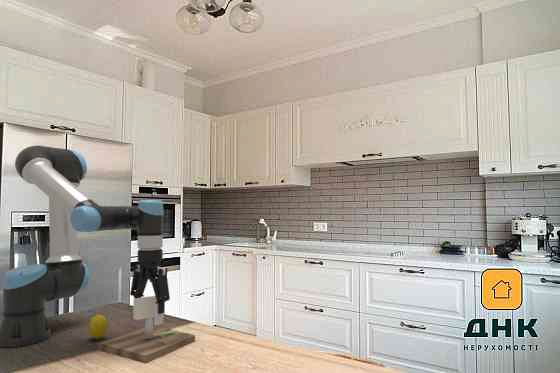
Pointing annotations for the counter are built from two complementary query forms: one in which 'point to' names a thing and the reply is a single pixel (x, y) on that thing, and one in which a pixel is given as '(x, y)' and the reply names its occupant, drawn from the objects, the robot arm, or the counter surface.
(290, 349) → the counter surface
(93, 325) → the lemon
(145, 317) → the white stand
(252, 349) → the counter surface
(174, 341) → the wooden cutting board
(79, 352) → the counter surface
